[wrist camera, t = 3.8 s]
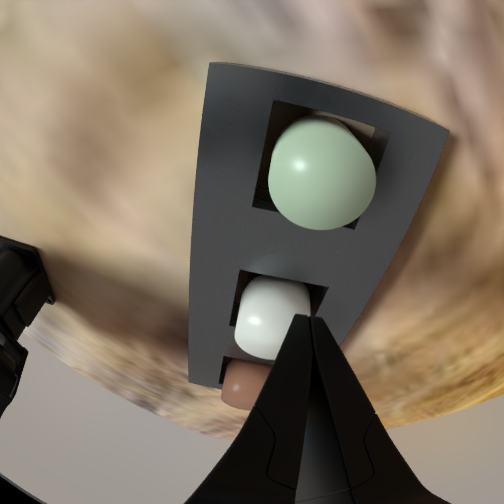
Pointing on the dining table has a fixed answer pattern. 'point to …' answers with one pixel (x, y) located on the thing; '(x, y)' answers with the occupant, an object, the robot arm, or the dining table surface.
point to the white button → (269, 313)
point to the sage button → (320, 173)
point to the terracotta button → (243, 382)
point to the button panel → (276, 224)
